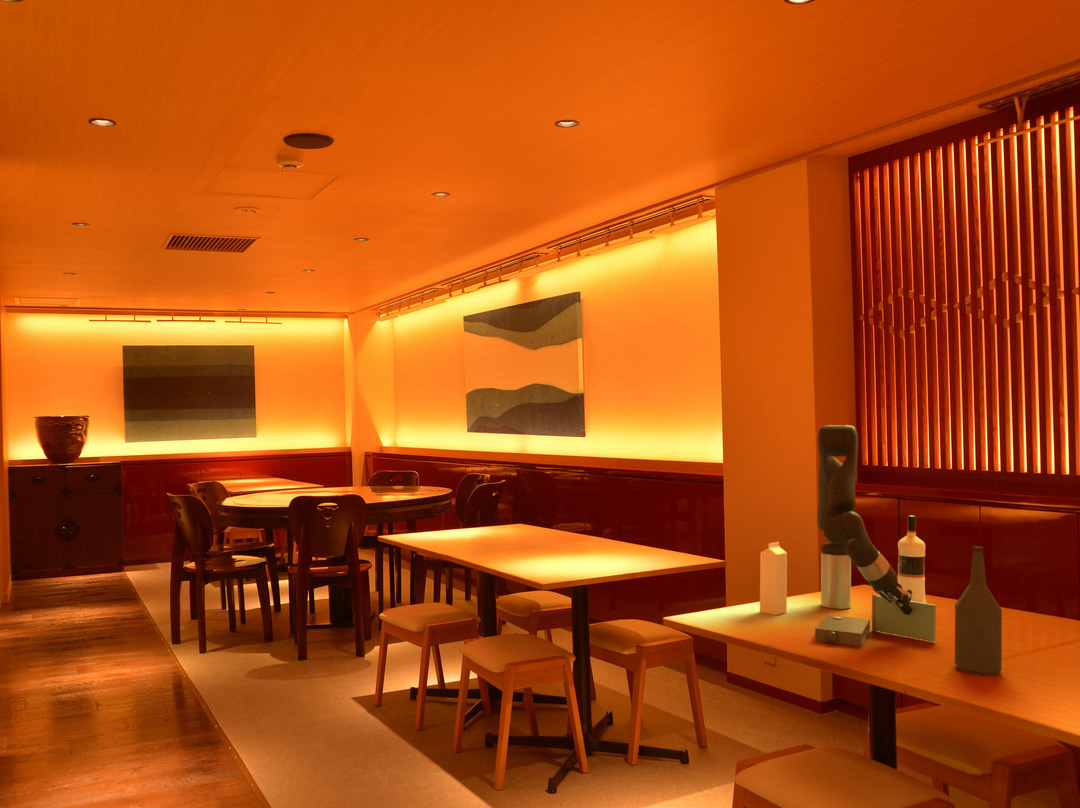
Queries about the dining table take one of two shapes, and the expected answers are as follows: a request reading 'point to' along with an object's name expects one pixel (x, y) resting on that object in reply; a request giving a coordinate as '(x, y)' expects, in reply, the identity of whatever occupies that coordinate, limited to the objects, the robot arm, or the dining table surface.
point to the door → (904, 619)
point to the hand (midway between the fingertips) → (908, 612)
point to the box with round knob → (842, 630)
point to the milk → (773, 580)
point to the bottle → (978, 624)
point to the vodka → (912, 562)
